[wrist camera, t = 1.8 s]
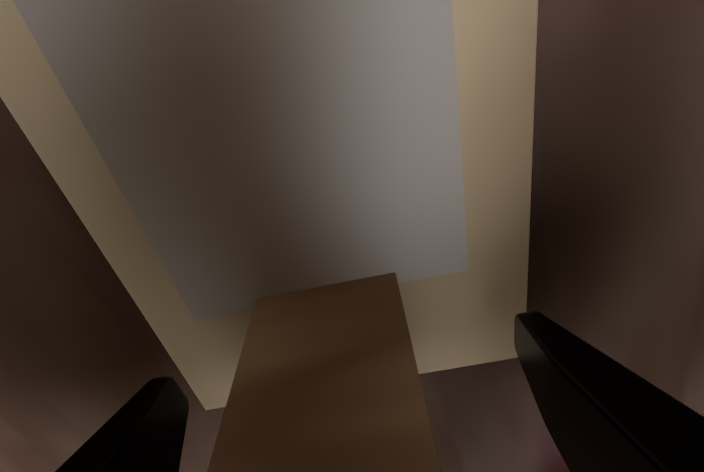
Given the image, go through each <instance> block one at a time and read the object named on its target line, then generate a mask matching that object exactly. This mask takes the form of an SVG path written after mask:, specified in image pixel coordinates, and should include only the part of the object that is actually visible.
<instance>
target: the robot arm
mask: <svg viewBox="0 0 704 472" xmlns="http://www.w3.org/2000/svg"><path fill="white" fill-rule="evenodd" d="M514 345H515V350H516V353H517V355H518V358H519V360H520V363H521V365H522V368H523V370H524V373H525V375H526V378H527V380H528V383H529V385H530V388H531V390H532V393H533V395H534V398H535V400H536V403H537V405H538V408H539V410H540V413H541V415H542V418H543V420H544V422H545V425H546V427H547V429H548V431H549V433H550V435H551V437H552V439H553V440H554V442H555V444H556V446H557V448H558V450H559V452H560V454H561V456H562V457H563V459H564V461H565V463H566V465H567V467H568V469H569V471H570V472H704V417H703V416H702V415H700V414H698V413H697V412H695V411H694V410H692V409H691V408H689V407H687V406H686V405H684V404H683V403H681V402H680V401H678V400H676V399H675V398H673V397H672V396H670V395H668V394H667V393H665V392H664V391H662V390H661V389H659V388H657V387H656V386H654V385H653V384H651V383H650V382H648V381H646V380H645V379H643V378H642V377H640V376H639V375H637V374H635V373H634V372H632V371H631V370H629V369H628V368H626V367H624V366H623V365H621V364H620V363H618V362H617V361H615V360H613V359H612V358H610V357H609V356H607V355H606V354H604V353H602V352H601V351H599V350H598V349H596V348H594V347H593V346H591V345H590V344H588V343H587V342H585V341H583V340H582V339H580V338H579V337H577V336H576V335H574V334H572V333H571V332H569V331H568V330H566V329H565V328H563V327H561V326H560V325H558V324H557V323H555V322H554V321H552V320H550V319H549V318H547V317H546V316H544V315H543V314H541V313H539V312H537V311H529V312H523V313H518V314H516V315H515V318H514ZM188 411H189V403H188V399H187V397H186V395H185V394H184V392H183V391H182V389H181V388H180V386H179V385H178V384H177V382H176V381H175V379H174V378H173V377H171V376H164V377H159V378H154V379H151V380H150V381H149V382H147V383H146V384H145V385H144V386H143V387H142V388H141V389H140V390H139V391H138V392H137V393H136V394H135V395H134V396H133V397H132V398H131V399H130V400H129V401H128V402H127V403H126V404H125V405H124V406H123V407H122V408H121V409H120V410H118V411H117V412H116V413H115V414H114V415H113V416H112V417H111V418H110V419H109V420H108V421H107V422H106V423H105V424H104V425H103V426H102V427H101V428H100V429H99V430H98V431H97V432H96V433H95V434H94V435H93V436H92V437H91V438H90V439H88V440H87V441H86V442H85V443H84V444H83V445H82V446H81V447H80V448H79V449H78V450H77V451H76V452H75V453H74V454H73V455H72V456H71V457H70V458H69V459H68V460H67V461H66V462H65V463H64V464H63V465H62V466H60V467H59V468H58V469H57V470H56V471H55V472H179V466H180V460H181V454H182V448H183V442H184V435H185V429H186V423H187V417H188Z"/></svg>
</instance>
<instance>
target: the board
mask: <svg viewBox="0 0 704 472" xmlns="http://www.w3.org/2000/svg"><path fill="white" fill-rule="evenodd" d="M452 8H453V24H454V41H455V57H456V73H457V89H458V105H459V121H460V137H461V153H462V170H463V186H464V202H465V218H466V234H467V250H468V266H469V270H467V271H461V272H456V273H451V274H445V275H440V276H435V277H429V278H424V279H419V280H413V281H408V282H403V283H398V286H399V290H400V294H401V299H402V303H403V307H404V312H405V316H406V320H407V325H408V329H409V334H410V338H411V342H412V347H413V351H414V355H415V360H416V364H417V368H418V373H419V374H423V373H429V372H435V371H441V370H447V369H453V368H459V367H465V366H471V365H476V364H482V363H488V362H494V361H500V360H506V359H512V358H518V355H517V353H516V350H515V345H514V318H515V315H516V314H518V313H523V312H526V311H527V284H528V257H529V230H530V203H531V176H532V150H533V123H534V96H535V69H536V42H537V15H538V0H452ZM0 97H1V99H2V100H3V102H4V103H5V105H6V106H7V108H8V110H9V111H10V113H11V114H12V116H13V117H14V119H15V120H16V122H17V123H18V125H19V126H20V128H21V129H22V131H23V132H24V134H25V135H26V137H27V139H28V140H29V142H30V143H31V145H32V146H33V148H34V149H35V151H36V152H37V154H38V155H39V157H40V158H41V160H42V161H43V163H44V164H45V166H46V168H47V169H48V171H49V172H50V174H51V175H52V177H53V178H54V180H55V181H56V183H57V184H58V186H59V187H60V189H61V190H62V192H63V193H64V195H65V196H66V198H67V200H68V201H69V203H70V204H71V206H72V207H73V209H74V210H75V212H76V213H77V215H78V216H79V218H80V219H81V221H82V222H83V224H84V225H85V227H86V229H87V230H88V232H89V233H90V235H91V236H92V238H93V239H94V241H95V242H96V244H97V245H98V247H99V248H100V250H101V251H102V253H103V254H104V256H105V257H106V259H107V261H108V262H109V264H110V265H111V267H112V268H113V270H114V271H115V273H116V274H117V276H118V277H119V279H120V280H121V282H122V283H123V285H124V286H125V288H126V290H127V291H128V293H129V294H130V296H131V297H132V299H133V300H134V302H135V303H136V305H137V306H138V308H139V309H140V311H141V312H142V314H143V315H144V317H145V318H146V320H147V322H148V323H149V325H150V326H151V328H152V329H153V331H154V332H155V334H156V335H157V337H158V338H159V340H160V341H161V343H162V344H163V346H164V347H165V349H166V351H167V352H168V354H169V355H170V357H171V358H172V360H173V361H174V363H175V364H176V366H177V367H178V369H179V370H180V372H181V373H182V375H183V376H184V378H185V379H186V381H187V383H188V384H189V386H190V387H191V389H192V390H193V392H194V393H195V395H196V396H197V398H198V399H199V401H200V402H201V404H202V405H203V407H204V408H205V410H210V409H216V408H222V407H226V404H227V400H228V397H229V393H230V390H231V386H232V383H233V379H234V376H235V372H236V369H237V365H238V361H239V358H240V354H241V351H242V347H243V344H244V340H245V337H246V333H247V329H248V326H249V322H250V319H251V315H252V312H253V311H248V312H243V313H237V314H232V315H227V316H221V317H216V318H211V319H205V320H200V321H195V320H194V318H193V317H192V315H191V313H190V311H189V310H188V308H187V306H186V304H185V303H184V301H183V299H182V297H181V296H180V294H179V292H178V290H177V289H176V287H175V285H174V283H173V282H172V280H171V278H170V276H169V274H168V273H167V271H166V269H165V267H164V266H163V264H162V262H161V260H160V259H159V257H158V255H157V253H156V252H155V250H154V248H153V246H152V245H151V243H150V241H149V239H148V238H147V236H146V234H145V232H144V230H143V229H142V227H141V225H140V223H139V222H138V220H137V218H136V216H135V215H134V213H133V211H132V209H131V208H130V206H129V204H128V202H127V201H126V199H125V197H124V195H123V194H122V192H121V190H120V188H119V187H118V185H117V183H116V181H115V179H114V178H113V176H112V174H111V172H110V171H109V169H108V167H107V165H106V164H105V162H104V160H103V158H102V157H101V155H100V153H99V151H98V150H97V148H96V146H95V144H94V143H93V141H92V139H91V137H90V135H89V134H88V132H87V130H86V128H85V127H84V125H83V123H82V121H81V120H80V118H79V116H78V114H77V113H76V111H75V109H74V107H73V106H72V104H71V102H70V100H69V99H68V97H67V95H66V93H65V91H64V90H63V88H62V86H61V84H60V83H59V81H58V79H57V77H56V76H55V74H54V72H53V70H52V69H51V67H50V65H49V63H48V62H47V60H46V58H45V56H44V55H43V53H42V51H41V49H40V47H39V46H38V44H37V42H36V40H35V39H34V37H33V35H32V33H31V32H30V30H29V28H28V26H27V25H26V23H25V21H24V19H23V18H22V16H21V14H20V12H19V11H18V9H17V7H16V5H15V4H14V2H13V0H0Z"/></svg>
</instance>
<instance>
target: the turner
mask: <svg viewBox="0 0 704 472" xmlns="http://www.w3.org/2000/svg"><path fill="white" fill-rule="evenodd" d="M13 2H14V4H15V5H16V7H17V9H18V11H19V12H20V14H21V16H22V18H23V19H24V21H25V23H26V25H27V26H28V28H29V30H30V32H31V33H32V35H33V37H34V39H35V40H36V42H37V44H38V46H39V47H40V49H41V51H42V53H43V55H44V56H45V58H46V60H47V62H48V63H49V65H50V67H51V69H52V70H53V72H54V74H55V76H56V77H57V79H58V81H59V83H60V84H61V86H62V88H63V90H64V91H65V93H66V95H67V97H68V99H69V100H70V102H71V104H72V106H73V107H74V109H75V111H76V113H77V114H78V116H79V118H80V120H81V121H82V123H83V125H84V127H85V128H86V130H87V132H88V134H89V135H90V137H91V139H92V141H93V143H94V144H95V146H96V148H97V150H98V151H99V153H100V155H101V157H102V158H103V160H104V162H105V164H106V165H107V167H108V169H109V171H110V172H111V174H112V176H113V178H114V179H115V181H116V183H117V185H118V187H119V188H120V190H121V192H122V194H123V195H124V197H125V199H126V201H127V202H128V204H129V206H130V208H131V209H132V211H133V213H134V215H135V216H136V218H137V220H138V222H139V223H140V225H141V227H142V229H143V230H144V232H145V234H146V236H147V238H148V239H149V241H150V243H151V245H152V246H153V248H154V250H155V252H156V253H157V255H158V257H159V259H160V260H161V262H162V264H163V266H164V267H165V269H166V271H167V273H168V274H169V276H170V278H171V280H172V282H173V283H174V285H175V287H176V289H177V290H178V292H179V294H180V296H181V297H182V299H183V301H184V303H185V304H186V306H187V308H188V310H189V311H190V313H191V315H192V317H193V318H194V320H195V321H200V320H205V319H211V318H216V317H221V316H227V315H232V314H237V313H243V312H248V311H253V312H252V315H251V319H250V322H249V326H248V329H247V333H246V337H245V340H244V344H243V347H242V351H241V354H240V358H239V361H238V365H237V369H236V372H235V376H234V379H233V383H232V386H231V390H230V393H229V397H228V400H227V404H226V408H225V411H224V415H223V418H222V422H221V425H220V429H219V432H218V436H217V440H216V443H215V447H214V450H213V454H212V457H211V461H210V464H209V468H208V471H207V472H441V469H440V464H439V460H438V455H437V451H436V447H435V442H434V438H433V434H432V429H431V425H430V421H429V416H428V412H427V408H426V403H425V399H424V394H423V390H422V386H421V381H420V377H419V373H418V368H417V364H416V360H415V355H414V351H413V347H412V342H411V338H410V334H409V329H408V325H407V320H406V316H405V312H404V307H403V303H402V299H401V294H400V290H399V286H398V283H403V282H408V281H413V280H419V279H424V278H429V277H435V276H440V275H445V274H451V273H456V272H461V271H467V270H469V266H468V250H467V234H466V218H465V202H464V186H463V170H462V153H461V137H460V121H459V105H458V89H457V73H456V57H455V41H454V24H453V8H452V0H13Z"/></svg>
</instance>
